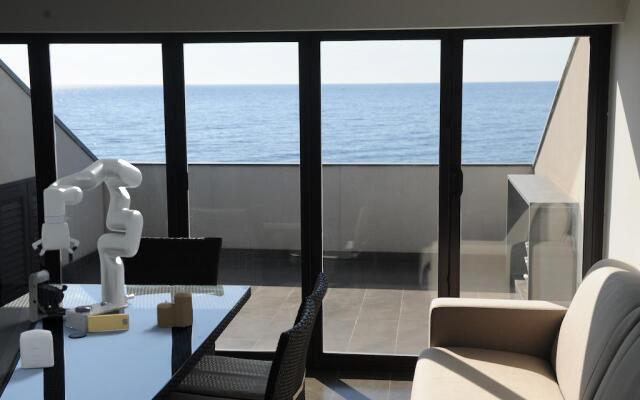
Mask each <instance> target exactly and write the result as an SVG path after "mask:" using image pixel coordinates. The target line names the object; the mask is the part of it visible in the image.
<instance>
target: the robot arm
mask: <svg viewBox="0 0 640 400" xmlns="http://www.w3.org/2000/svg"><path fill="white" fill-rule="evenodd" d="M142 181H143V175H142V172H141V171H140V169H139V168H137V167H135V166H134V165H132V164H131V163H129V162H127V161H126V160H124V159H120V158H100V159H97V160H96V161H94V162H93V163H91V164H90V165H88V166H87V167H86V168H84V169H82V170H81V171H78V172H75V173H72V174H69V175H65V176H64V177H61V178H58V179H57V180H55V181H54V182H53V183H51V184H50V185H49V186H48V187H47V188H45V189H44V190H43V209H44V210H43V211H44V223H42V226H41V238H40V239H39V240H37V241H35V242H33V243H32V244H31V246H32V248H33V249H34V251H35V252H36V253H37V254H38V255H39V257H40V264H42V266H43V267H44V266H45V265H46V262H45V252H46V251H57V250H58V251H59V250H67V251H68V254H67V255H68V264H69V265H71V264H72V262H74V256H73V254H74V252H75V251H76V250H77V249H78V247H79V245H80V241H79V240H77V239H75V238H73V237H70V229H69V224H68V222H66V221H70V216H67V215H66V206H74V205H77V204H80V203H81V202H82V200H83V197H84V194H83V193H84V192H86V191H87V192H88V191H90V190H95V188H97V187H98V186H99V185H101V184H102V183H103V182H104V183H105V185H106V187H107V190H108V192H109V196H110V197H109V198H110V200H109V206H108V210H107V215H106V219H105V220H106V221H105V225H106V228H107V230H109V231H113V232H124V233H125V234H124V233H112V232H111V233H104V234H102V235H101V236H99V238H98V240H97V245H96V246H97V250H98V254H99V260H100V283H101V284H100V287H101V302H108V303H112V304H116V305H120V306H124V309H125V308H127V307H128V306H129V305H130V304H129V301H128V300H132V299H134V298H135V295H134V294H125V266H124V263H123V259H122V258H121V257H123V258H133V257H134V256H135V255H136V254H137V253H138V250H139V247H140V242H141V238H142V232H143V228H144V227H143V226H144V218H143V215H142V213H141V212H140V211H139V210H135V209H130V205H131V196H130V194H129V191H128V190H127V189H134V188H137V187H139V186H140V185H141V184H142ZM71 243H74V246H73V247H72V248H71ZM39 245H41V247H42V248H41V250H40V249H39V248H38V246H39Z"/></svg>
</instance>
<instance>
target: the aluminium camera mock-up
mask: <svg viewBox="0 0 640 400" xmlns="http://www.w3.org/2000/svg"><path fill="white" fill-rule="evenodd" d="M67 309H68V310H66V315H65V327H67V326H69V327H68V328H70V327H72V328H71V329H73V328H75V329H74V330H77V329H78V330H77V331H80V330H81V331H80V332H83V331H84V333H86V332H85V315H89V316H99V315H114V314H126V313H125V308H124V306H120V305H116V304H112V303H108V302H102V301H100V302H97V303H91V304H87V305H80V306H79V305H78V306H75V307H74V308H73V307H72V308H67Z"/></svg>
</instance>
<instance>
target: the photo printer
mask: <svg viewBox="0 0 640 400" xmlns="http://www.w3.org/2000/svg"><path fill="white" fill-rule="evenodd" d="M53 341H54V340H53V335H52V332H51V331H50V330H48V329H47V330H46V329H31V330H30V329H29V330H26V331H24V332H21V333H20V337H19V350H20V367H21V369H36V368H38V369H39V368H50V367H51V368H52V367H54V365H55V361H54V359H55V358H54V357H55V356H54V342H53Z"/></svg>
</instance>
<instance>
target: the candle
mask: <svg viewBox="0 0 640 400" xmlns="http://www.w3.org/2000/svg"><path fill="white" fill-rule="evenodd" d="M156 320H157V321H156V322H157V323H156V325H157V328H163V329H168V328H173V327H179V328H186V326H187V327H190V325H192V326H193V296H192V293H190V292H189V291H186V290H185V288H184V286H182V287H181V291H176V292H175V293H174V294H173V302H169V301H168V300H167V299H165V301H164V302H160V303H158V304H157V305H156Z"/></svg>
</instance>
